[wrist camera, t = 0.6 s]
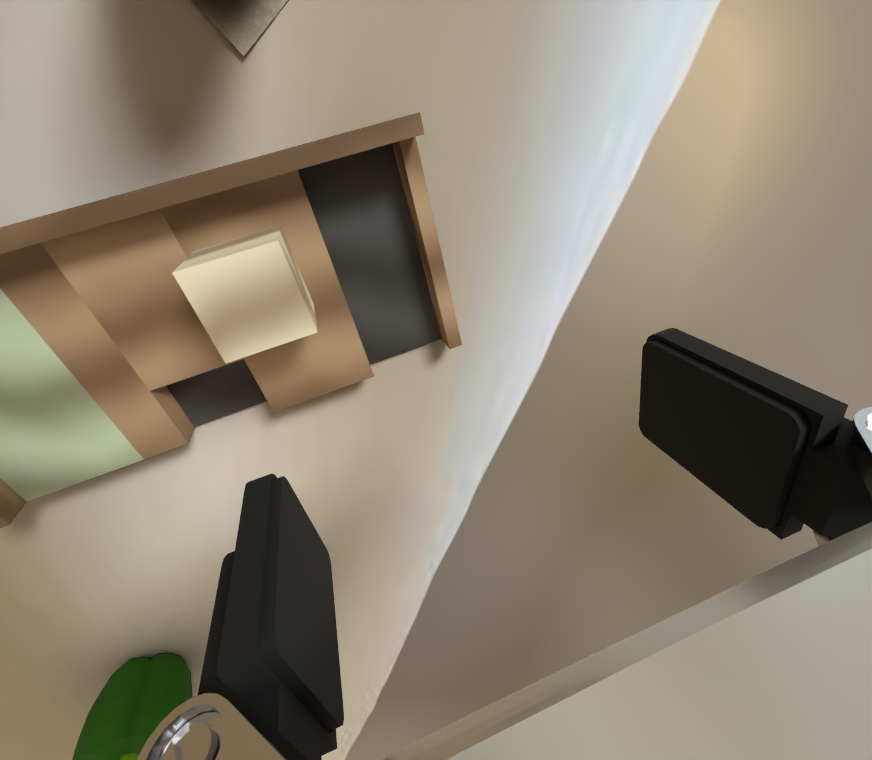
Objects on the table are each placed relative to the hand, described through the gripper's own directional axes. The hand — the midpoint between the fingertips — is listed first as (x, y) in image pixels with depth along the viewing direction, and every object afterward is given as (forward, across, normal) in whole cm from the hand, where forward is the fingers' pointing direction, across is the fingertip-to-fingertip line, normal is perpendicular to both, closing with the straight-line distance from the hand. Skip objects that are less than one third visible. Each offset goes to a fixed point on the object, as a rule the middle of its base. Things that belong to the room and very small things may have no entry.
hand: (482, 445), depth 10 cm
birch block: (+19, +6, -1) cm, 20 cm away
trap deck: (+22, +10, +1) cm, 24 cm away
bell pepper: (+22, +32, +32) cm, 50 cm away
